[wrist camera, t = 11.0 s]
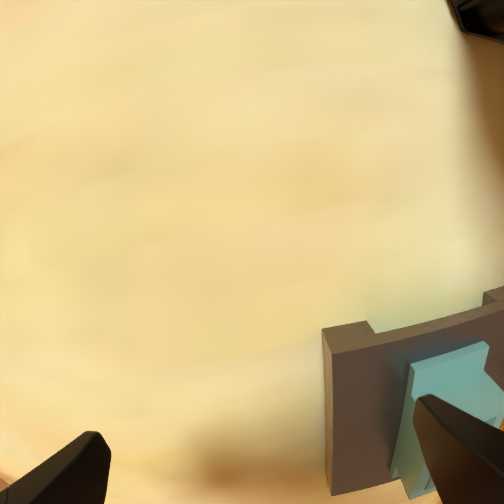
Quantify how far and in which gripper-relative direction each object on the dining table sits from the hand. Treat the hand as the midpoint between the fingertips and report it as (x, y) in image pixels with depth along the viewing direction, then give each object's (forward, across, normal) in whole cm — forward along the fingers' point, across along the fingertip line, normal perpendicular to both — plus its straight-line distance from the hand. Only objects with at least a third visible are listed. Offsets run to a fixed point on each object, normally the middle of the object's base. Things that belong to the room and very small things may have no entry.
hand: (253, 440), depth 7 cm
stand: (+12, -12, +12) cm, 21 cm away
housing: (+9, -12, +12) cm, 19 cm away
